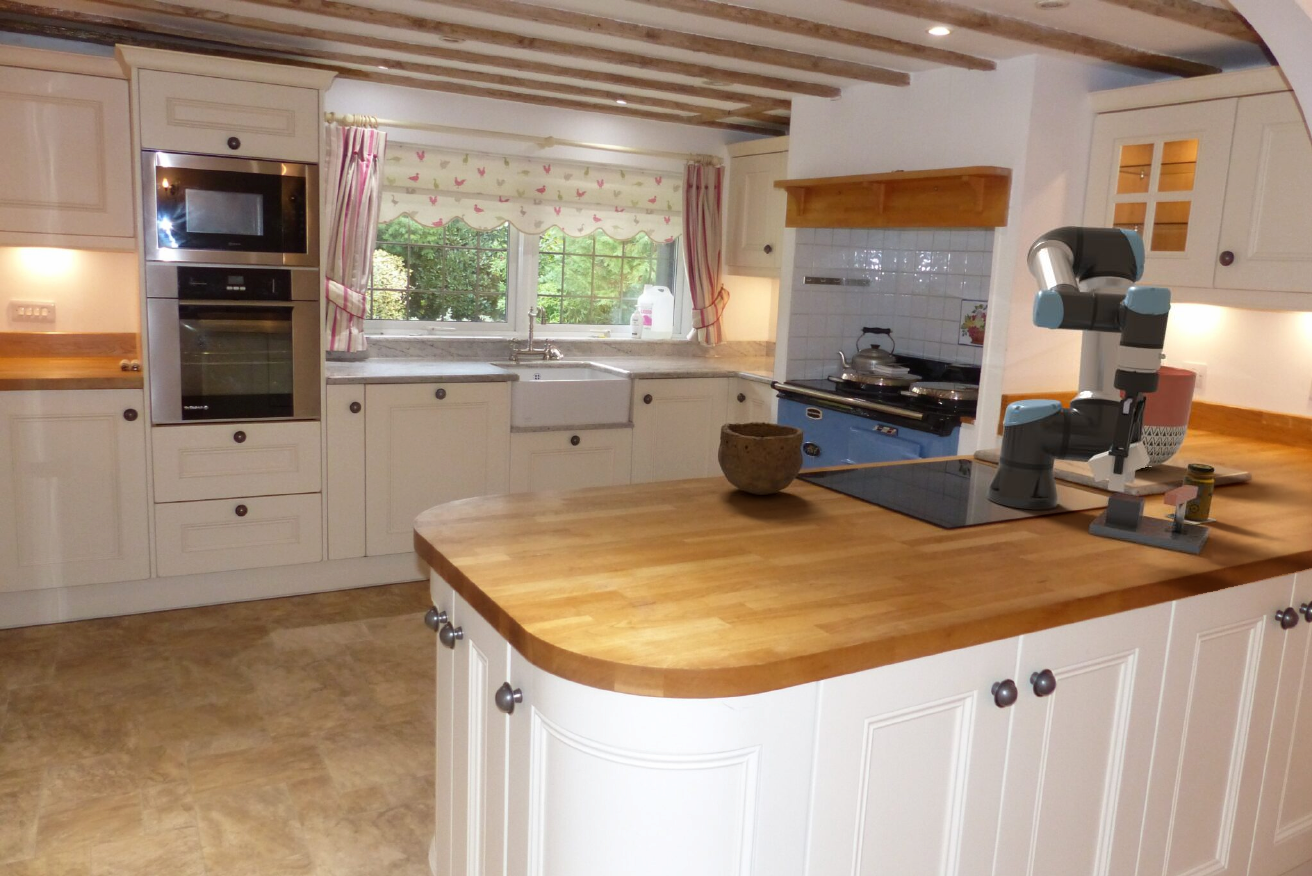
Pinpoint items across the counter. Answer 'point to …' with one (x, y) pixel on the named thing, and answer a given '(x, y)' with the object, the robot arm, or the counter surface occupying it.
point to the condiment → (1198, 493)
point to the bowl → (760, 456)
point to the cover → (1103, 461)
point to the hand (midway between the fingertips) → (1120, 485)
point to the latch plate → (1145, 526)
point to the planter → (1167, 413)
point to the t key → (1180, 503)
